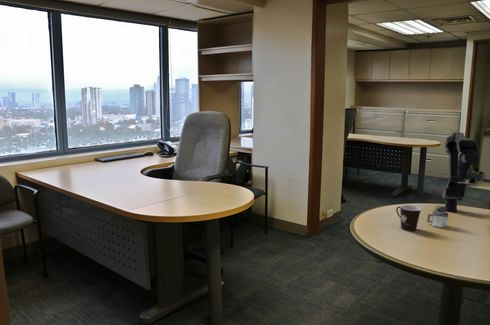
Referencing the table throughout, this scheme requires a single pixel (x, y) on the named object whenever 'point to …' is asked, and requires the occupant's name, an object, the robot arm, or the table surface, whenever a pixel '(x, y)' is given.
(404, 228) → the coffee mug
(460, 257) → the table surface
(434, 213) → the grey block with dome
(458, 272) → the table surface
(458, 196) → the robot arm
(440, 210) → the plunger
